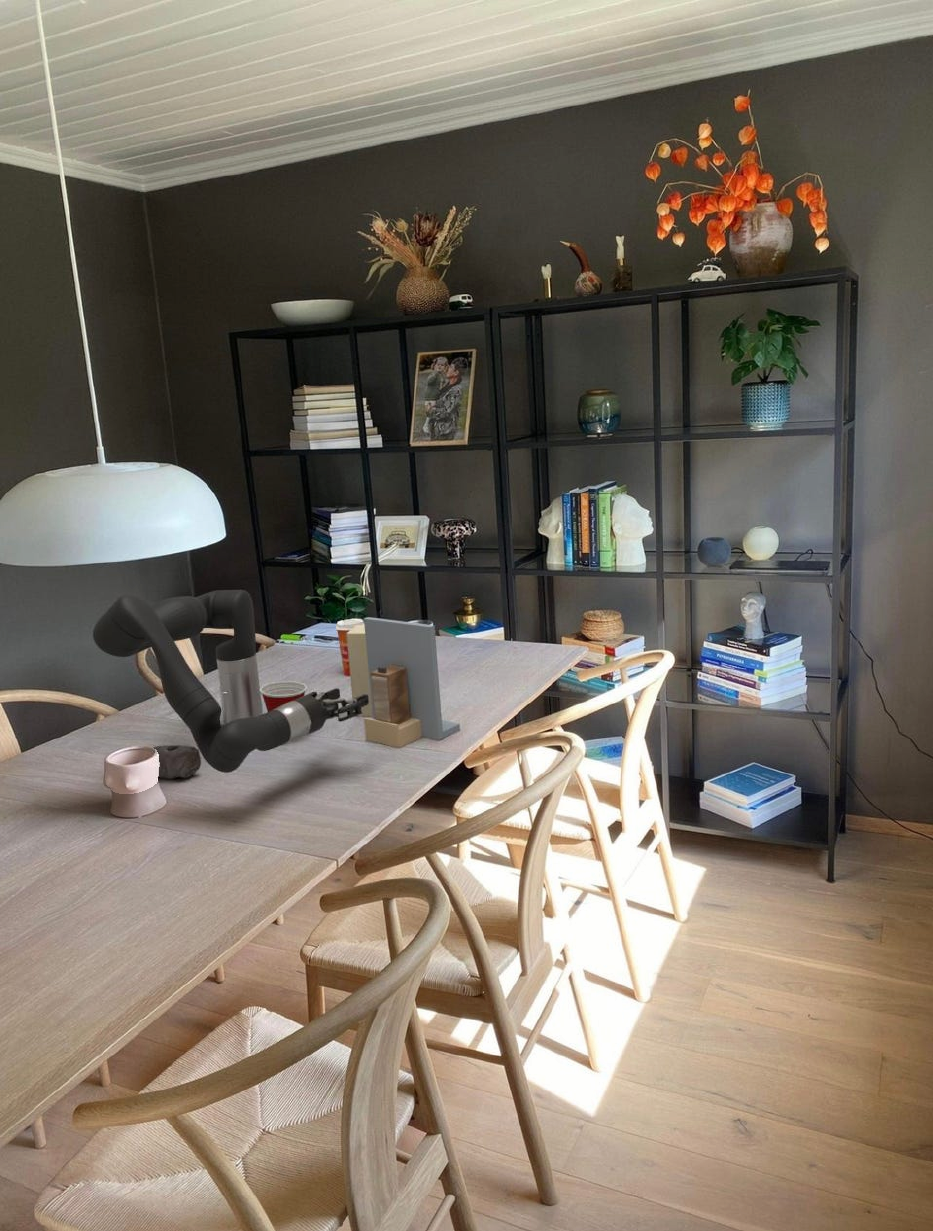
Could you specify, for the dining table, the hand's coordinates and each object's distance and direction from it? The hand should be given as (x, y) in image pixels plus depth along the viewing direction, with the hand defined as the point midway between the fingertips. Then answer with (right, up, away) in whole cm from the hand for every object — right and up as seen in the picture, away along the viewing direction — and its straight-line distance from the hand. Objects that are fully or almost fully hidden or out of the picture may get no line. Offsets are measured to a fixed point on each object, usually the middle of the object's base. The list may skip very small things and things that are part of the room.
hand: (353, 695), depth 200 cm
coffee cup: (-7, +1, +64) cm, 65 cm away
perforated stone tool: (-39, -17, -2) cm, 43 cm away
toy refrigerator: (+1, -7, +31) cm, 31 cm away
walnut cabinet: (+8, -7, +10) cm, 15 cm away
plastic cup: (-17, -11, +18) cm, 27 cm away
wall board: (+11, -10, +15) cm, 21 cm away
